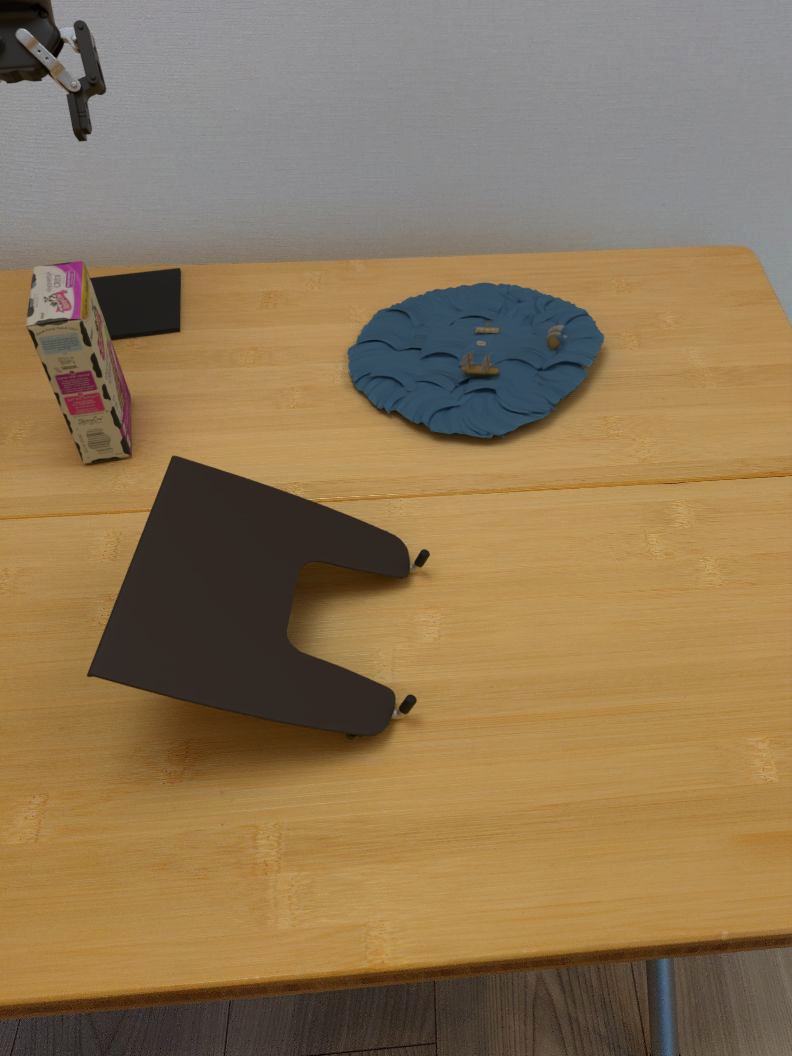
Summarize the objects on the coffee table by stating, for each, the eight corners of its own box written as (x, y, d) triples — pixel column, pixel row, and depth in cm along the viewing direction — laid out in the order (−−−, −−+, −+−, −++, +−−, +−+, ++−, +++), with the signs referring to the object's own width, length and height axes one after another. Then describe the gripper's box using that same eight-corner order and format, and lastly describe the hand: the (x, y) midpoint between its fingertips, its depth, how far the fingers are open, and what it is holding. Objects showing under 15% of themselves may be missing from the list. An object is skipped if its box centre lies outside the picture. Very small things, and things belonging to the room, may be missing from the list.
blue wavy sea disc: (348, 464, 98) (338, 425, 94) (350, 304, 118) (343, 267, 115) (629, 435, 100) (631, 395, 96) (584, 282, 120) (584, 245, 117)
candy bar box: (135, 458, 96) (82, 318, 85) (83, 467, 95) (22, 327, 83) (134, 393, 104) (84, 257, 92) (85, 401, 103) (29, 264, 91)
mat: (72, 344, 110) (71, 340, 110) (82, 283, 119) (80, 278, 119) (180, 331, 112) (178, 327, 112) (181, 271, 122) (179, 267, 121)
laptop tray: (371, 796, 77) (413, 741, 71) (71, 727, 69) (91, 658, 63) (396, 583, 93) (433, 524, 87) (155, 507, 85) (178, 436, 79)
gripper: (-102, -51, 84) (-67, 132, 84) (69, -60, 86) (101, 118, 87) (-64, -4, 91) (-33, 165, 92) (92, -13, 94) (122, 151, 94)
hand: (33, 142), depth 89 cm, fingers open, 8 cm apart
